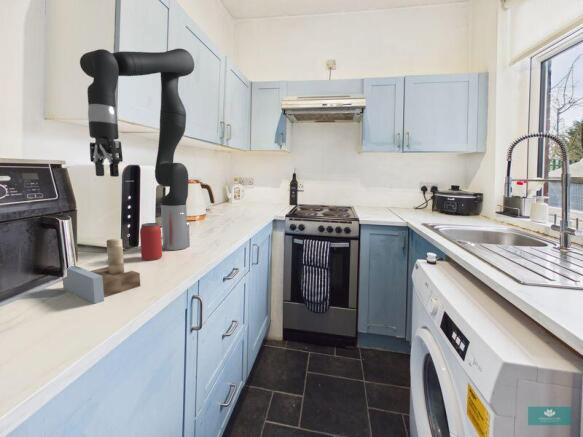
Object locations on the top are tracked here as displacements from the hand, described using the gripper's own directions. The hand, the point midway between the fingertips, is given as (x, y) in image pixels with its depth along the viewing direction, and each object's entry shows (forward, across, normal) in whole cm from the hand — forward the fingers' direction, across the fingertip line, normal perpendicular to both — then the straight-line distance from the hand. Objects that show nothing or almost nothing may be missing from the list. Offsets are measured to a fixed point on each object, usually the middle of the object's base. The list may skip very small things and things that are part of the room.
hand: (107, 176), depth 93 cm
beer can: (+28, -4, -11) cm, 31 cm away
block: (+28, -19, +11) cm, 36 cm away
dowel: (+28, -19, +9) cm, 35 cm away
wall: (+28, -19, +17) cm, 38 cm away
